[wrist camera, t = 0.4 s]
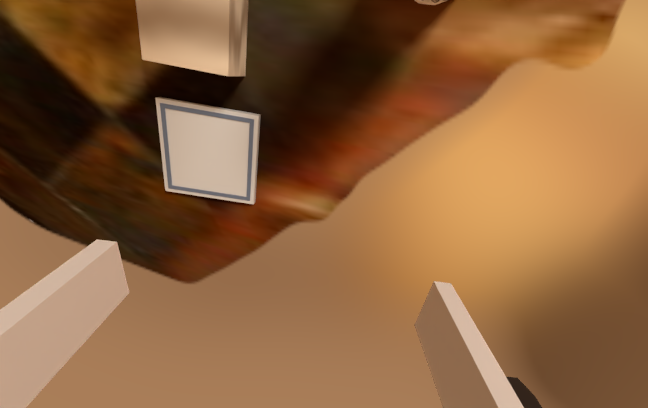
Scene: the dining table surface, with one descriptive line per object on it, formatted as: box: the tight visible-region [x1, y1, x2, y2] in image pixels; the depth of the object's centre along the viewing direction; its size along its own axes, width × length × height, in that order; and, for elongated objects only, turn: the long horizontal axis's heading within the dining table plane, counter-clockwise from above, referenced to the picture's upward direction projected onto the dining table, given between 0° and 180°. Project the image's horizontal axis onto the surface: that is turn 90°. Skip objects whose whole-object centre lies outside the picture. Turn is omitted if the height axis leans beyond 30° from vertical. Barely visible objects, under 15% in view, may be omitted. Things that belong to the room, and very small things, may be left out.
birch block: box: [136, 0, 248, 76], centre depth 26 cm, size 8×8×6 cm
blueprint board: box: [156, 97, 260, 204], centre depth 34 cm, size 12×12×1 cm
